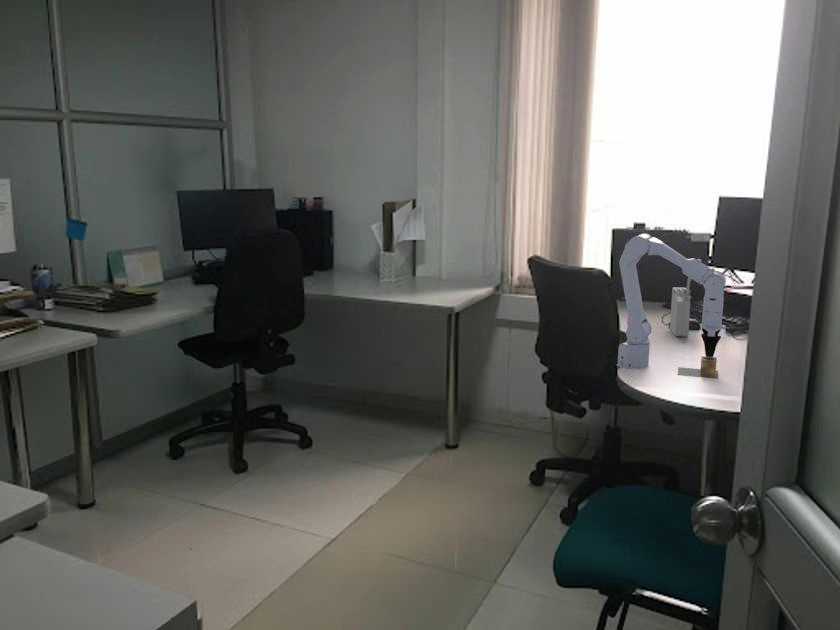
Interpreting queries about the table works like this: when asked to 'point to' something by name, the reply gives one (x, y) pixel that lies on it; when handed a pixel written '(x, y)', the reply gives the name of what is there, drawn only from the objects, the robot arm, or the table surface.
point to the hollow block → (708, 366)
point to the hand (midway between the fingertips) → (709, 353)
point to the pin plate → (693, 373)
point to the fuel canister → (680, 310)
